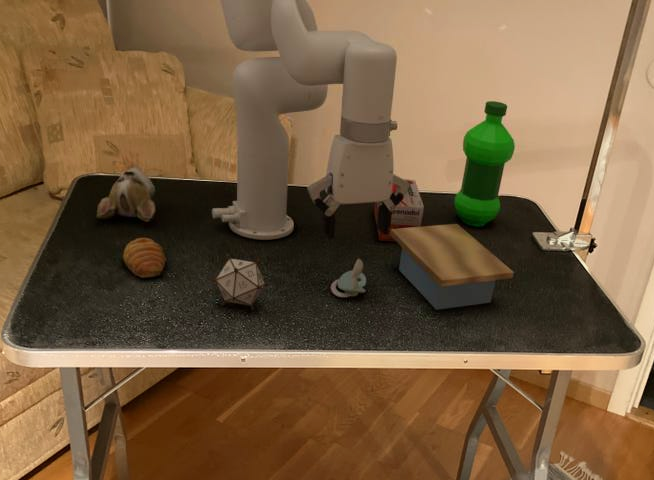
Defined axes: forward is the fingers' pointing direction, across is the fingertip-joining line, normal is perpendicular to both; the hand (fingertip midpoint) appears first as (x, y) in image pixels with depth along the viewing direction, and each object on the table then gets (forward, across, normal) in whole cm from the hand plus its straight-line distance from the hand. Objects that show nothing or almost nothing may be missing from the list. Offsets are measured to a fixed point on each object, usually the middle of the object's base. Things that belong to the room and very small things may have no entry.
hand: (355, 233), depth 123 cm
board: (+5, -18, +1) cm, 19 cm away
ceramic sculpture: (+10, +30, -39) cm, 50 cm away
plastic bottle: (+11, -39, -24) cm, 47 cm away
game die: (+11, +19, -1) cm, 22 cm away
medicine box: (+11, -20, -24) cm, 33 cm away
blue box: (+11, -18, +1) cm, 21 cm away
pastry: (+11, +31, -17) cm, 37 cm away
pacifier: (+11, 0, -1) cm, 11 cm away
